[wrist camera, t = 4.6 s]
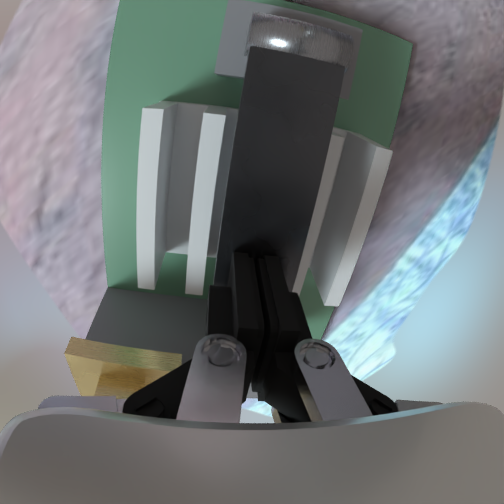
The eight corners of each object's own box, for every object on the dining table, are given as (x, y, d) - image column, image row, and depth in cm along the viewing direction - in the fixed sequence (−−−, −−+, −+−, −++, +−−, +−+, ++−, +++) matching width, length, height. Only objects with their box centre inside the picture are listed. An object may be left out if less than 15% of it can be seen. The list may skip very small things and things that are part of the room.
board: (128, -7, 11) (75, -45, 5) (403, 44, 13) (481, 41, 7) (118, 326, 22) (96, 397, 16) (311, 343, 24) (331, 413, 18)
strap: (251, 17, 8) (255, 5, 7) (339, 38, 9) (356, 31, 8) (202, 353, 15) (201, 377, 14) (265, 357, 16) (268, 380, 14)
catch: (71, 336, 12) (46, 398, 9) (181, 354, 12) (175, 424, 9) (88, 388, 14) (73, 442, 11) (181, 403, 14) (177, 461, 11)
